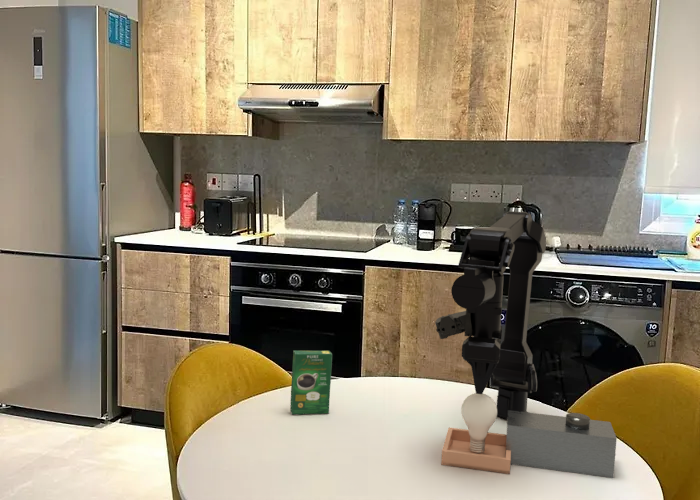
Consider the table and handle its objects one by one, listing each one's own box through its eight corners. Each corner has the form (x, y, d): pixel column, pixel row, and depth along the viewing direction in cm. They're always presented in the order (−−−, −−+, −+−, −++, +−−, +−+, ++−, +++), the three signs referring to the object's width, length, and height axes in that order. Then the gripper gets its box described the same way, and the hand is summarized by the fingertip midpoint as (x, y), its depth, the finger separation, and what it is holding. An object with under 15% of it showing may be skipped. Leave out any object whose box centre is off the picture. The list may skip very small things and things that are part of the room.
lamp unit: (504, 463, 119) (507, 416, 118) (505, 445, 127) (508, 401, 126) (613, 477, 114) (617, 429, 113) (607, 458, 122) (610, 412, 121)
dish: (448, 440, 128) (448, 427, 128) (510, 448, 125) (511, 435, 125) (441, 464, 117) (442, 450, 117) (509, 474, 114) (510, 460, 114)
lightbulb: (495, 462, 118) (498, 401, 116) (458, 458, 119) (461, 397, 118) (494, 448, 124) (498, 390, 123) (459, 444, 125) (462, 386, 124)
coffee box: (327, 409, 142) (330, 348, 141) (330, 414, 140) (332, 352, 138) (289, 410, 141) (291, 349, 139) (291, 415, 138) (293, 353, 136)
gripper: (445, 288, 130) (441, 367, 131) (433, 305, 112) (429, 397, 113) (504, 292, 127) (499, 373, 129) (502, 311, 109) (496, 404, 111)
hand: (480, 385), depth 120 cm, fingers open, 9 cm apart
